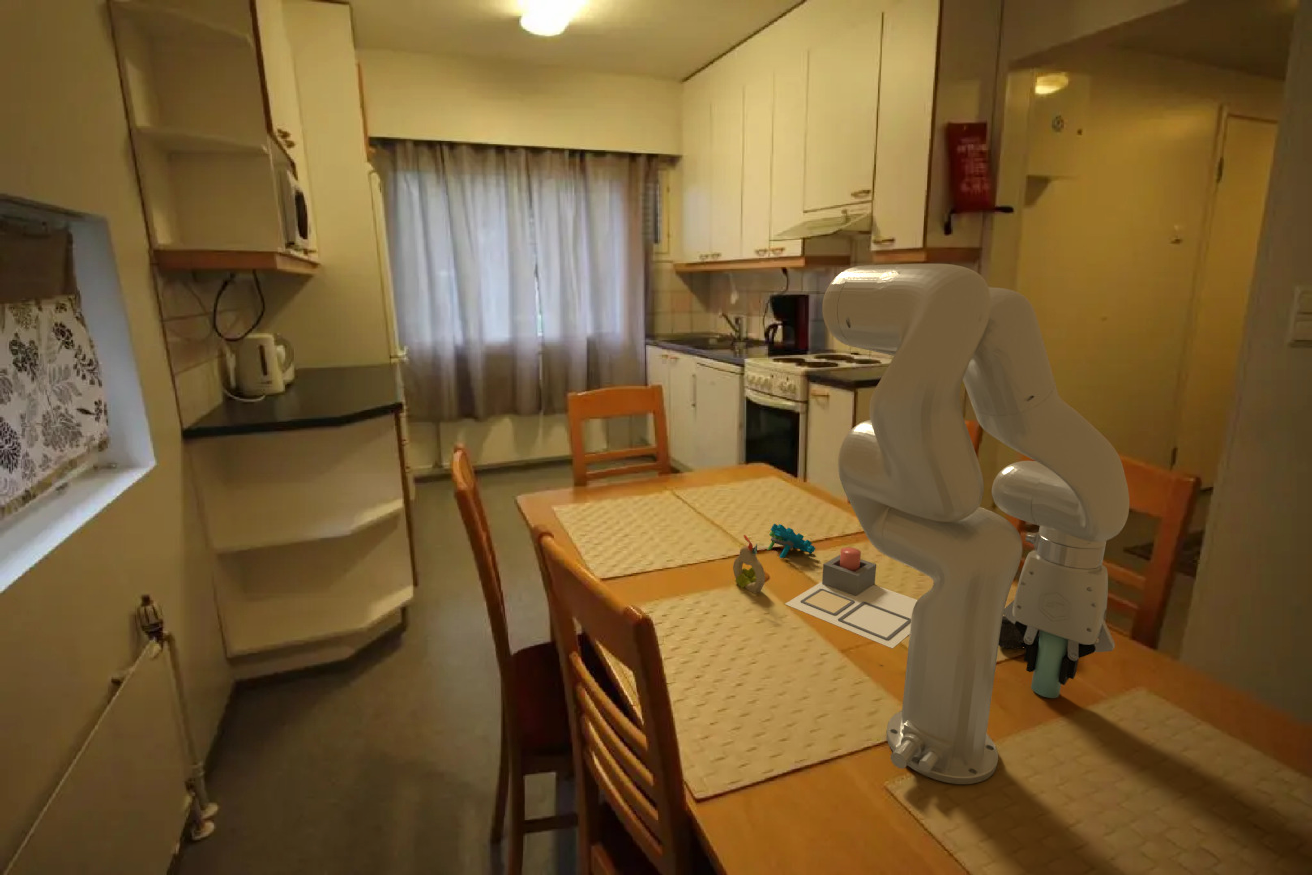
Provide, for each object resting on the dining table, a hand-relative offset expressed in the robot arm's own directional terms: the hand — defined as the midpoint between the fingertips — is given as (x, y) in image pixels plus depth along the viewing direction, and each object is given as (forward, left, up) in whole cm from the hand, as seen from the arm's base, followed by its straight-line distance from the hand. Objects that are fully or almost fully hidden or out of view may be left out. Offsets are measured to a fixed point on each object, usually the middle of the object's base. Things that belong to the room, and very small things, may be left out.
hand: (1048, 672), depth 90 cm
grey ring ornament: (-3, +48, -3) cm, 48 cm away
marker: (0, 0, -3) cm, 3 cm away
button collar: (+10, +36, -3) cm, 37 cm away
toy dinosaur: (+14, +52, -3) cm, 54 cm away
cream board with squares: (+4, +30, -3) cm, 30 cm away
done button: (+10, +36, -1) cm, 37 cm away
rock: (+13, +6, -4) cm, 15 cm away
